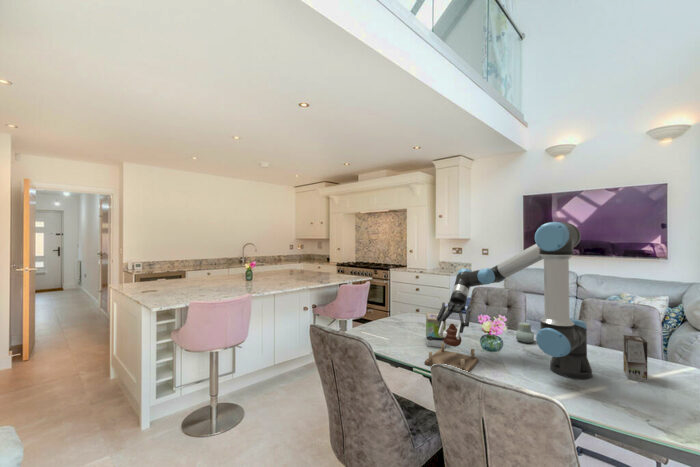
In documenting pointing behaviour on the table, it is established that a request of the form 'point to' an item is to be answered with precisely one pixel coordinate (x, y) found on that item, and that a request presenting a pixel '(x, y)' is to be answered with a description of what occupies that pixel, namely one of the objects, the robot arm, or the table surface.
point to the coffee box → (635, 358)
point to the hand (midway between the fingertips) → (448, 336)
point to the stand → (452, 359)
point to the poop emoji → (451, 336)
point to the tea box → (433, 330)
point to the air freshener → (525, 333)
